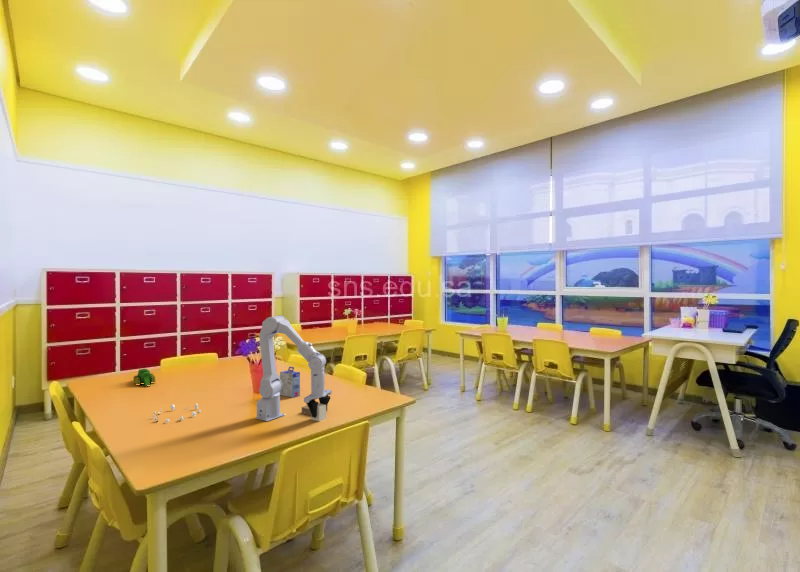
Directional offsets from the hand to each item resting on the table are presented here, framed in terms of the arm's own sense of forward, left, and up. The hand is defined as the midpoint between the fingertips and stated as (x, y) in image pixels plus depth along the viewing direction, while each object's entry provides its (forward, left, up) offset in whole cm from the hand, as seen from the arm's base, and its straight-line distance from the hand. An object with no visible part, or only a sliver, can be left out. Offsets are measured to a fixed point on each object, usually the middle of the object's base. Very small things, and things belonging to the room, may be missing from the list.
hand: (318, 415), depth 168 cm
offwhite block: (0, 0, -2) cm, 2 cm away
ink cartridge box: (+18, +38, -2) cm, 42 cm away
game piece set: (-30, +58, -2) cm, 65 cm away
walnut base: (+6, +8, -2) cm, 10 cm away
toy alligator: (-9, +138, -2) cm, 138 cm away
